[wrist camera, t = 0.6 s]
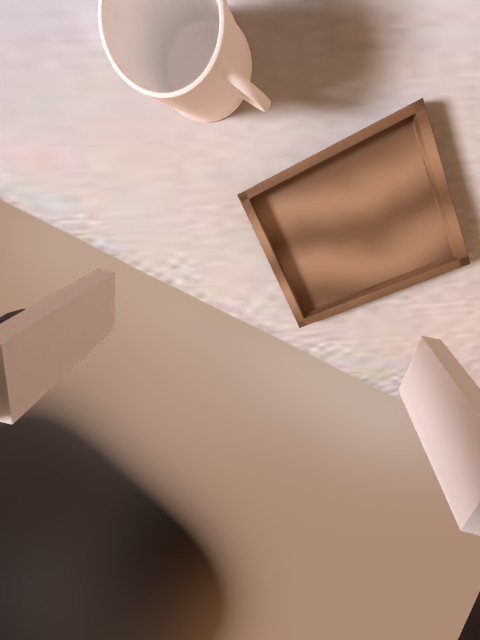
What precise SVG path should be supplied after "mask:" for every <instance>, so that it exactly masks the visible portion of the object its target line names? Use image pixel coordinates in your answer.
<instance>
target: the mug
mask: <svg viewBox="0 0 480 640" xmlns="http://www.w3.org/2000/svg"><path fill="white" fill-rule="evenodd" d="M98 23H99V30H100V35H101V39H102V43H103V46H104V49H105V51H106V54H107V56H108V58H109V60H110V62H111V64H112V65H113V67H114V69H115V70H116V71H117V73H118V74H119V75H120V76H121V77H122V79H123V80H124V81H125V82H126V83H128V84H129V85H130V86H131V87H133V88H134V89H136V90H137V91H139V92H141V93H143V94H145V95H147V96H149V97H151V98H153V99H155V100H157V101H160V102H162V103H164V104H166V105H168V106H170V107H172V108H175V109H177V110H178V111H179V112H180V113H181V114H183V115H184V116H186V117H187V118H189V119H191V120H194V121H198V122H215V121H218V120H221V119H223V118H225V117H227V116H229V115H230V114H231V113H232V112H234V111H235V110H236V109H237V108H238V106H239V105H240V104H241V102H242V101H243V99H244V100H245V101H247V102H248V103H250V104H251V105H253V106H255V107H256V108H258V109H259V110H261V111H264V112H266V111H268V110H269V108H270V106H271V101H270V100H269V98H268V97H267V96H266V95H265V94H264V93H263V92H262V91H260V90H259V89H258V88H257V87H256V86H255V85H254V84H252V83H251V82H250V81H251V75H252V58H251V52H250V48H249V45H248V42H247V40H246V37H245V35H244V34H243V32H242V30H241V29H240V28H239V26H238V25H237V24H236V22H235V20H234V17H233V15H232V13H231V11H230V8H229V6H228V4H227V2H226V0H99V2H98Z"/></svg>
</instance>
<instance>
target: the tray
mask: <svg viewBox="0 0 480 640" xmlns="http://www.w3.org/2000/svg"><path fill="white" fill-rule="evenodd" d="M238 197H239V199H240V201H241V203H242V205H243V207H244V210H245V212H246V214H247V216H248V218H249V220H250V222H251V225H252V227H253V229H254V231H255V233H256V235H257V237H258V240H259V242H260V244H261V246H262V248H263V250H264V252H265V255H266V257H267V259H268V261H269V263H270V265H271V267H272V270H273V272H274V274H275V276H276V278H277V280H278V282H279V285H280V287H281V289H282V291H283V293H284V295H285V297H286V300H287V302H288V304H289V306H290V308H291V310H292V312H293V315H294V317H295V319H296V321H297V323H298V325H299V327H300V328H301V327H303V326H306V325H309V324H311V323H314V322H317V321H319V320H322V319H324V318H327V317H330V316H332V315H335V314H338V313H340V312H343V311H346V310H348V309H351V308H354V307H356V306H359V305H362V304H364V303H367V302H370V301H372V300H375V299H377V298H380V297H383V296H385V295H388V294H391V293H393V292H396V291H399V290H401V289H404V288H407V287H409V286H412V285H415V284H417V283H420V282H423V281H425V280H428V279H431V278H433V277H436V276H438V275H441V274H444V273H446V272H449V271H452V270H454V269H457V268H460V267H462V266H465V265H468V264H470V261H469V257H468V254H467V250H466V247H465V243H464V240H463V236H462V233H461V229H460V226H459V222H458V219H457V216H456V212H455V209H454V205H453V202H452V198H451V195H450V191H449V188H448V184H447V181H446V177H445V174H444V170H443V167H442V163H441V160H440V156H439V153H438V149H437V146H436V142H435V139H434V135H433V132H432V128H431V125H430V121H429V118H428V114H427V111H426V107H425V104H424V100H423V98H422V99H420V100H418V101H416V102H414V103H412V104H410V105H408V106H406V107H405V108H403V109H401V110H399V111H397V112H395V113H393V114H391V115H389V116H387V117H385V118H384V119H382V120H380V121H378V122H376V123H374V124H372V125H370V126H368V127H366V128H364V129H362V130H361V131H359V132H357V133H355V134H353V135H351V136H349V137H347V138H345V139H343V140H341V141H340V142H338V143H336V144H334V145H332V146H330V147H328V148H326V149H324V150H322V151H320V152H319V153H317V154H315V155H313V156H311V157H309V158H307V159H305V160H303V161H301V162H299V163H297V164H296V165H294V166H292V167H290V168H288V169H286V170H284V171H282V172H280V173H278V174H276V175H275V176H273V177H271V178H269V179H267V180H265V181H263V182H261V183H259V184H257V185H255V186H254V187H252V188H250V189H248V190H246V191H244V192H242V193H240V194H238Z"/></svg>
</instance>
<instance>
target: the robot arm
mask: <svg viewBox="0 0 480 640" xmlns="http://www.w3.org/2000/svg"><path fill="white" fill-rule="evenodd" d="M114 304H115V273H114V272H111V271H106V270H101V269H97V270H95V271H93V272H92V273H90V274H88V275H86V276H84V277H83V278H81V279H79V280H78V281H76V282H74V283H72V284H71V285H68V286H67V287H65V288H63V289H62V290H59V291H58V292H56V293H54V294H52V295H51V296H49V297H47V298H45V299H43V300H42V301H40V302H38V303H36V304H35V305H33V306H31V307H29V308H27V309H21V310H17V311H14V312H10V313H7V314H5V315H4V316H2V317H0V422H4V423H8V424H13V423H14V422H16V421H17V420H18V419H19V418H20V417H21V416H22V415H23V414H24V413H25V412H26V411H27V410H28V409H29V408H30V407H32V406H33V404H35V403H36V402H37V401H38V400H39V399H40V398H41V397H42V396H43V395H44V394H45V393H46V392H47V391H49V390H50V389H51V388H52V387H53V386H54V385H55V384H56V383H57V382H58V381H59V380H60V379H61V378H62V377H63V376H64V375H66V374H67V373H68V372H69V371H70V370H71V369H72V368H73V367H74V366H75V365H76V364H77V363H78V362H79V361H80V360H81V359H83V357H85V356H86V355H87V354H88V353H89V352H90V351H91V350H92V349H93V348H94V347H95V346H96V345H97V344H98V343H100V342H101V341H102V340H103V339H104V338H105V337H106V336H107V335H108V334H109V333H110V332H111V331H112V330H113V329H114V307H115V305H114ZM398 391H399V393H400V395H401V397H402V400H403V402H404V404H405V406H406V409H407V411H408V413H409V415H410V418H411V420H412V422H413V424H414V427H415V429H416V431H417V433H418V436H419V438H420V440H421V443H422V445H423V447H424V449H425V451H426V454H427V456H428V458H429V460H430V463H431V465H432V467H433V469H434V472H435V474H436V476H437V479H438V481H439V483H440V485H441V488H442V490H443V492H444V494H445V497H446V499H447V501H448V503H449V505H450V508H451V510H452V512H453V514H454V517H455V519H456V521H457V524H458V526H459V528H460V530H461V531H464V532H468V533H472V534H476V535H480V388H479V387H478V386H477V385H476V383H475V382H474V381H473V380H472V378H471V377H470V376H469V375H468V373H467V372H466V371H465V370H464V368H463V367H462V366H461V365H460V363H459V362H458V361H457V360H456V358H455V357H454V356H453V355H452V353H451V352H450V351H449V350H448V348H447V347H446V346H445V345H444V343H443V342H442V341H441V340H438V339H434V338H429V337H424V336H422V337H421V340H420V342H419V344H418V346H417V349H416V351H415V353H414V356H413V358H412V360H411V363H410V365H409V367H408V370H407V372H406V374H405V376H404V379H403V381H402V383H401V386H400V388H399V390H398ZM458 640H480V592H479V594H478V597H477V599H476V601H475V603H474V605H473V608H472V610H471V612H470V614H469V616H468V619H467V621H466V623H465V625H464V627H463V630H462V632H461V634H460V636H459V639H458Z"/></svg>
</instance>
